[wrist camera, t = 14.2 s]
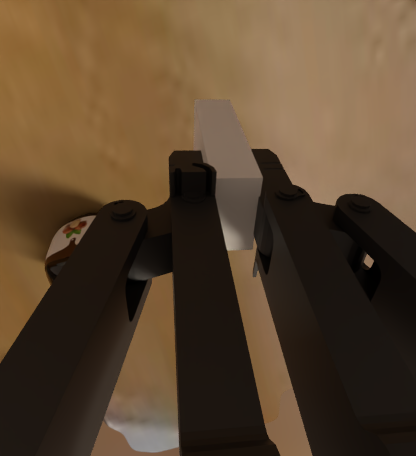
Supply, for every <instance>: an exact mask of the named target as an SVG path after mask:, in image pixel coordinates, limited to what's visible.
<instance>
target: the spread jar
mask: <svg viewBox="0 0 416 456" xmlns="http://www.w3.org/2000/svg"><path fill="white" fill-rule="evenodd" d="M97 214H98V213H91V214H86V215H83V216H80V217H78V218H75V219H74V220H72V221H70V222H68V223H67V224H65V225H64V226H63V227H61V228H60V229H59V230H58V231H57V233H56V234H55V236H54V238H53V239H52V242H51V244H50V247H49V250H48V253H47V256H46V260H45V272H46V275H47V278H48V281H49V283H50V285H51V284H52V283H53V281H54V280H55V278H56V277H57V275H58V274H59V272H60V271H61V269H62V267H63V266H64V264H65V263H66V261H67V260H68V258H69V257H70V255H71V254H72V252H73V251H74V249H75V247H76V246H77V244H78V243H79V241H80V240H81V238H82V237H83V235H84V234H85V232H86V230H87V229H88V227H89V226H90V224H91V223H92V221H93V220H94V218H95V217H96V215H97Z"/></svg>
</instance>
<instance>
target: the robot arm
mask: <svg viewBox="0 0 416 456" xmlns="http://www.w3.org/2000/svg"><path fill="white" fill-rule="evenodd" d="M169 185H170V197H169V199H168V200H167V201H166V202H165V203H164V204H162V205H160V206H158V207H156V208H152V209H148V210H147V209H146V208H145V206H144V205H142V204H141V203H139V202H136V201H132V200H118V201H114V202H111V203H109V204H107V205H105V206H104V207H103V208H101V209H100V210H99V212H98V214H97V215H96V217H95V218H94V220H93V221H92V223H91V224H90V226H89V227H88V229H87V230H86V232H85V234H84V235H83V237H82V238H81V240H80V241H79V243H78V244H77V246H76V247H75V249H74V251H73V252H72V254H71V255H70V257H69V258H68V260H67V261H66V263H65V264H64V266H63V267H62V269H61V271H60V272H59V274H58V275H57V277H56V278H55V280H54V281H53V283H52V284H51V286H50V288H49V289H48V291H47V292H46V294H45V295H44V297H43V298H42V300H41V301H40V303H39V305H38V306H37V308H36V309H35V311H34V312H33V314H32V315H31V317H30V318H29V320H28V321H27V323H26V325H25V326H24V328H23V329H22V331H21V332H20V334H19V335H18V337H17V338H16V340H15V342H14V343H13V345H12V346H11V348H10V349H9V351H8V352H7V354H6V355H5V357H4V358H3V360H2V362H1V363H0V456H90V455H91V452H92V449H93V447H94V444H95V441H96V438H97V435H98V433H99V430H100V427H101V424H102V421H103V419H104V416H105V413H106V410H107V407H108V405H109V402H110V399H111V396H112V393H113V390H114V388H115V385H116V382H117V379H118V376H119V374H120V371H121V368H122V365H123V362H124V360H125V357H126V354H127V351H128V348H129V346H130V343H131V340H132V337H133V334H134V331H135V329H136V326H137V323H138V320H139V317H140V315H141V312H142V309H143V306H144V303H145V301H146V298H147V295H148V292H149V289H150V286H151V284H152V278H154V277H157V276H160V275H164V274H167V273H170V272H172V274H173V299H174V325H175V351H176V376H177V402H178V427H179V450H180V451H179V453H180V456H280V454H279V451H278V449H277V447H276V445H275V444H274V443H273V442H272V441H271V440H270V439H269V437H268V435H267V432H266V428H265V424H264V419H263V415H262V410H261V405H260V401H259V396H258V392H257V387H256V382H255V378H254V373H253V369H252V364H251V359H250V355H249V350H248V345H247V341H246V336H245V332H244V327H243V322H242V318H241V313H240V308H239V304H238V299H237V295H236V290H235V285H234V281H233V276H232V271H231V267H230V262H229V258H228V253H227V250H250V249H252V248H253V241H254V237H255V240H256V244H257V250H256V256H255V262H254V268H253V277H256V275H257V271H258V270H259V273H260V277H261V280H262V283H263V287H264V290H265V294H266V297H267V301H268V304H269V307H270V311H271V314H272V318H273V321H274V325H275V328H276V332H277V335H278V338H279V342H280V345H281V349H282V352H283V356H284V359H285V362H286V366H287V369H288V373H289V376H290V380H291V383H292V387H293V390H294V393H295V397H296V400H297V404H298V407H299V411H300V414H301V417H302V421H303V424H304V428H305V431H306V435H307V438H308V441H309V445H310V448H311V452H312V455H313V456H416V232H414V231H413V230H412V229H411V228H409V227H408V226H407V225H406V224H404V223H403V222H402V221H401V220H399V219H398V218H397V217H396V216H394V215H393V214H392V213H391V212H389V211H388V210H387V209H386V208H384V207H383V206H382V205H381V204H380V203H378V202H377V201H375V200H373V199H372V198H369V197H366V196H365V195H361V194H359V195H358V194H345V195H342V196H340V197H339V198H338V199H337V201H336V205H335V206H332V205H326V204H320V203H316V202H313V201H312V199H311V197H310V195H309V194H308V193H307V192H306V191H305V190H304V189H302V188H301V187H299V186H296V185H292V183H291V181H290V179H289V177H288V175H287V174H286V172H285V170H284V168H283V166H282V164H280V160H279V159H278V157H277V155H276V154H274V153H273V152H272V151H270V150H269V149H251V148H250V146H249V144H248V141H247V139H246V137H245V134H244V132H243V130H242V127H241V125H240V123H239V120H238V118H237V116H236V113H235V111H234V109H233V106H232V104H231V102H230V100H196V99H195V107H194V151H174V152H173V153H172V154H171V155H170V156H169ZM367 254H368V255H369V256H370V257H371V258H372V259H373V260H374V262H373V265H372V267H371V268H369V267H368V266H367V265H366V264H365V263H364V260H365V257H366V255H367Z"/></svg>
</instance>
